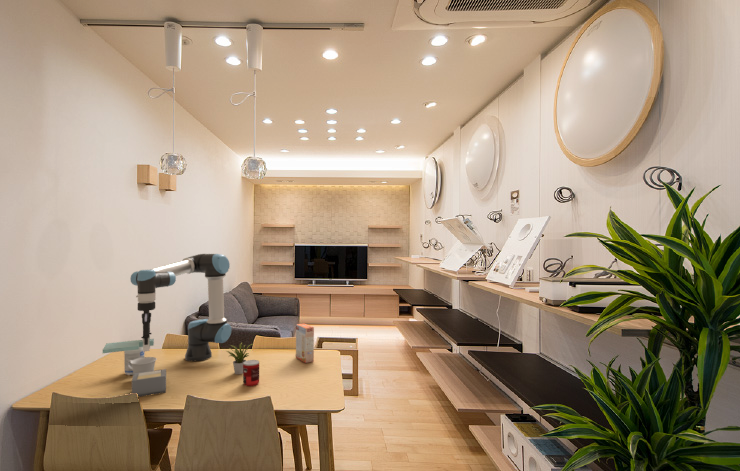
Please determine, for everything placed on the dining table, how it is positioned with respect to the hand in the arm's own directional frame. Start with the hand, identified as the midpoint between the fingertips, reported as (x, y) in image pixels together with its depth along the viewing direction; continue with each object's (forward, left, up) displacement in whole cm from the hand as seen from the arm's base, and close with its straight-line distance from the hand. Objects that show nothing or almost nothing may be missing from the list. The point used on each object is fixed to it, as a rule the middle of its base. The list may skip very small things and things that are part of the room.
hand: (146, 349), depth 188 cm
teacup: (+4, -20, -21) cm, 29 cm away
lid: (+7, 0, +2) cm, 7 cm away
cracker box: (-83, -13, -21) cm, 87 cm away
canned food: (-47, +12, -21) cm, 53 cm away
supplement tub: (+8, -33, -21) cm, 40 cm away
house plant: (-45, -8, -21) cm, 50 cm away
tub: (-1, 0, -20) cm, 20 cm away
